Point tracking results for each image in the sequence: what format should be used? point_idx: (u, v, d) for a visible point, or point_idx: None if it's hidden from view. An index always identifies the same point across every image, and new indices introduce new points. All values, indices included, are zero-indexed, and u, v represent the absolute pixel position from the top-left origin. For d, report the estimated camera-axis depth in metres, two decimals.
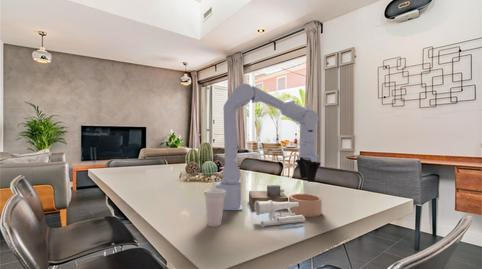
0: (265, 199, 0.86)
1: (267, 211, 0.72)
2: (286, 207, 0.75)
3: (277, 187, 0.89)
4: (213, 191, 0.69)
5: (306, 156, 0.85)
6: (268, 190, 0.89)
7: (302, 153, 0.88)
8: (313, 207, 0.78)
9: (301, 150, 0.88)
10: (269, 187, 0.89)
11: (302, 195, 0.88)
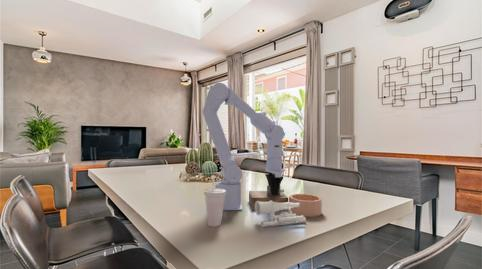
0: (265, 199, 0.86)
1: (267, 211, 0.71)
2: (287, 208, 0.74)
3: None
4: (213, 191, 0.69)
5: (271, 171, 0.86)
6: (268, 190, 0.89)
7: (268, 168, 0.89)
8: (313, 207, 0.78)
9: (267, 165, 0.89)
10: (269, 187, 0.89)
11: (302, 195, 0.88)
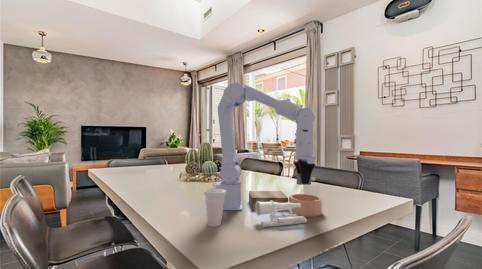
0: (265, 199, 0.86)
1: (268, 212, 0.71)
2: (287, 208, 0.74)
3: None
4: (213, 191, 0.69)
5: (302, 158, 0.80)
6: (298, 178, 0.83)
7: (298, 154, 0.82)
8: (313, 207, 0.78)
9: (297, 151, 0.83)
10: (299, 175, 0.83)
11: (302, 195, 0.88)
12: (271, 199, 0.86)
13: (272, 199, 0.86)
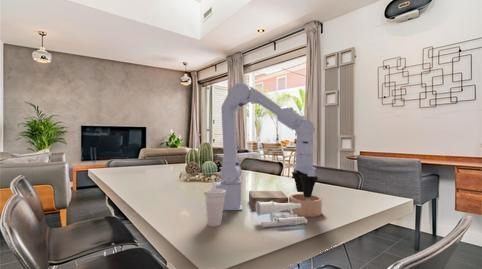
0: (265, 199, 0.86)
1: (268, 212, 0.71)
2: (288, 208, 0.73)
3: None
4: (213, 191, 0.69)
5: (302, 170, 0.80)
6: None
7: (298, 166, 0.82)
8: (313, 207, 0.78)
9: (297, 163, 0.83)
10: None
11: (302, 195, 0.88)
12: (271, 199, 0.86)
13: (272, 199, 0.86)
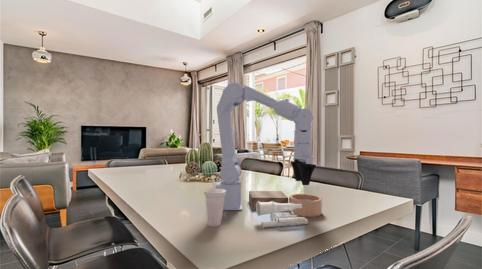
0: (265, 199, 0.86)
1: (268, 212, 0.71)
2: (288, 209, 0.73)
3: None
4: (213, 191, 0.69)
5: (300, 158, 0.80)
6: None
7: (296, 155, 0.83)
8: (313, 207, 0.78)
9: (295, 151, 0.83)
10: None
11: (302, 195, 0.88)
12: (271, 199, 0.86)
13: (272, 199, 0.86)
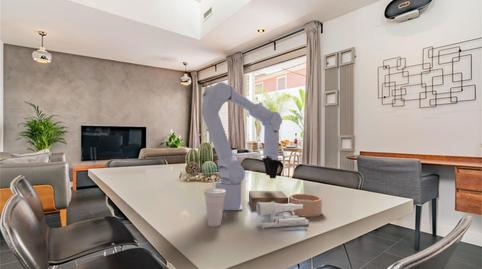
0: (265, 199, 0.86)
1: (268, 212, 0.70)
2: (289, 209, 0.73)
3: None
4: (213, 191, 0.69)
5: (268, 155, 0.93)
6: None
7: (265, 152, 0.95)
8: (313, 207, 0.78)
9: (265, 149, 0.96)
10: None
11: (302, 195, 0.88)
12: (271, 199, 0.86)
13: (272, 199, 0.86)
